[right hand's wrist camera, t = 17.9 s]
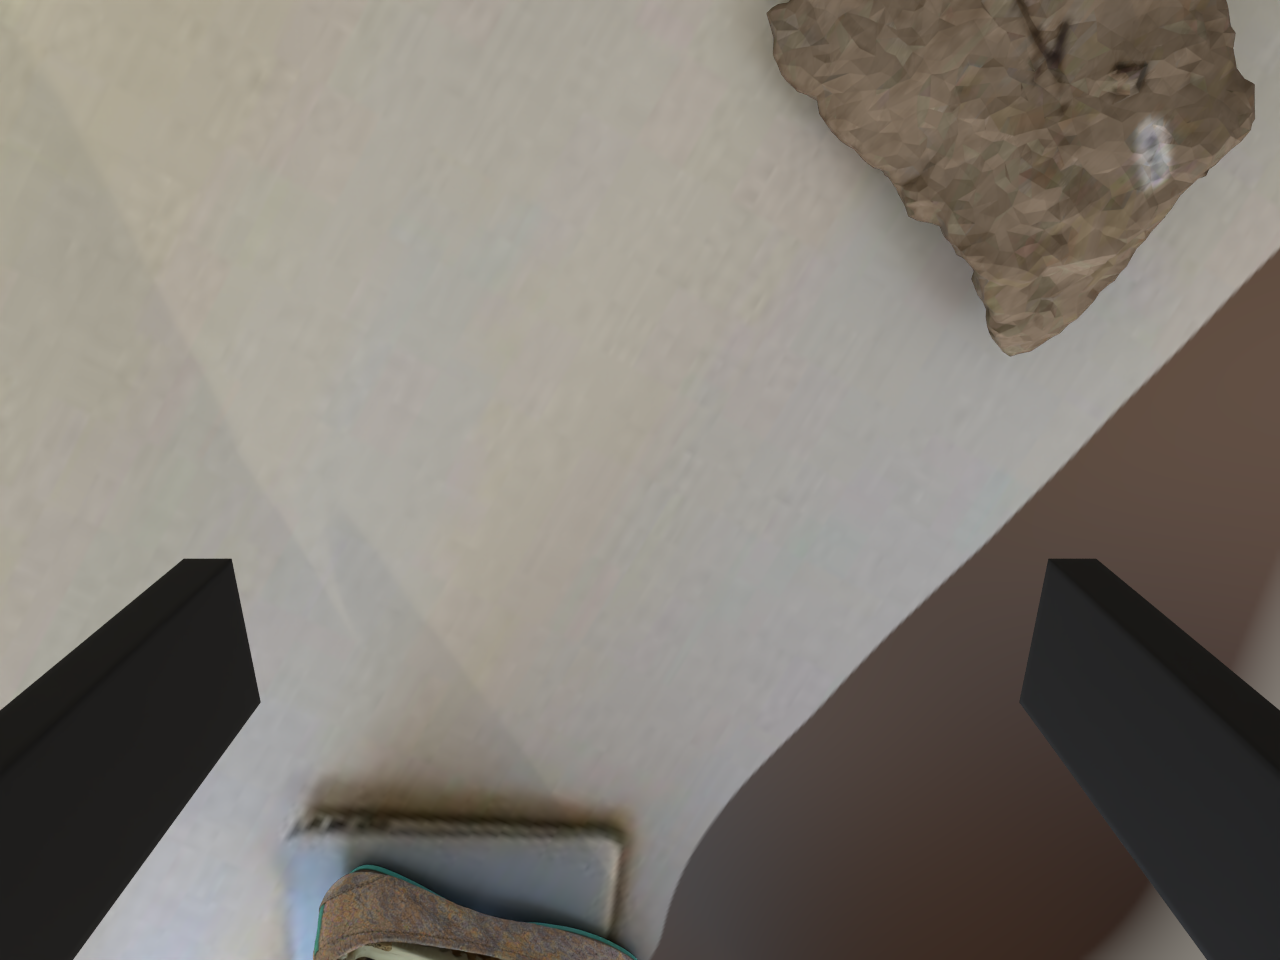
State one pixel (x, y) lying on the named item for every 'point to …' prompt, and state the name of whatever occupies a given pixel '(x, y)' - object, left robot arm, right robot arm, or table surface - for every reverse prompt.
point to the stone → (1026, 128)
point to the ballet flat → (435, 927)
